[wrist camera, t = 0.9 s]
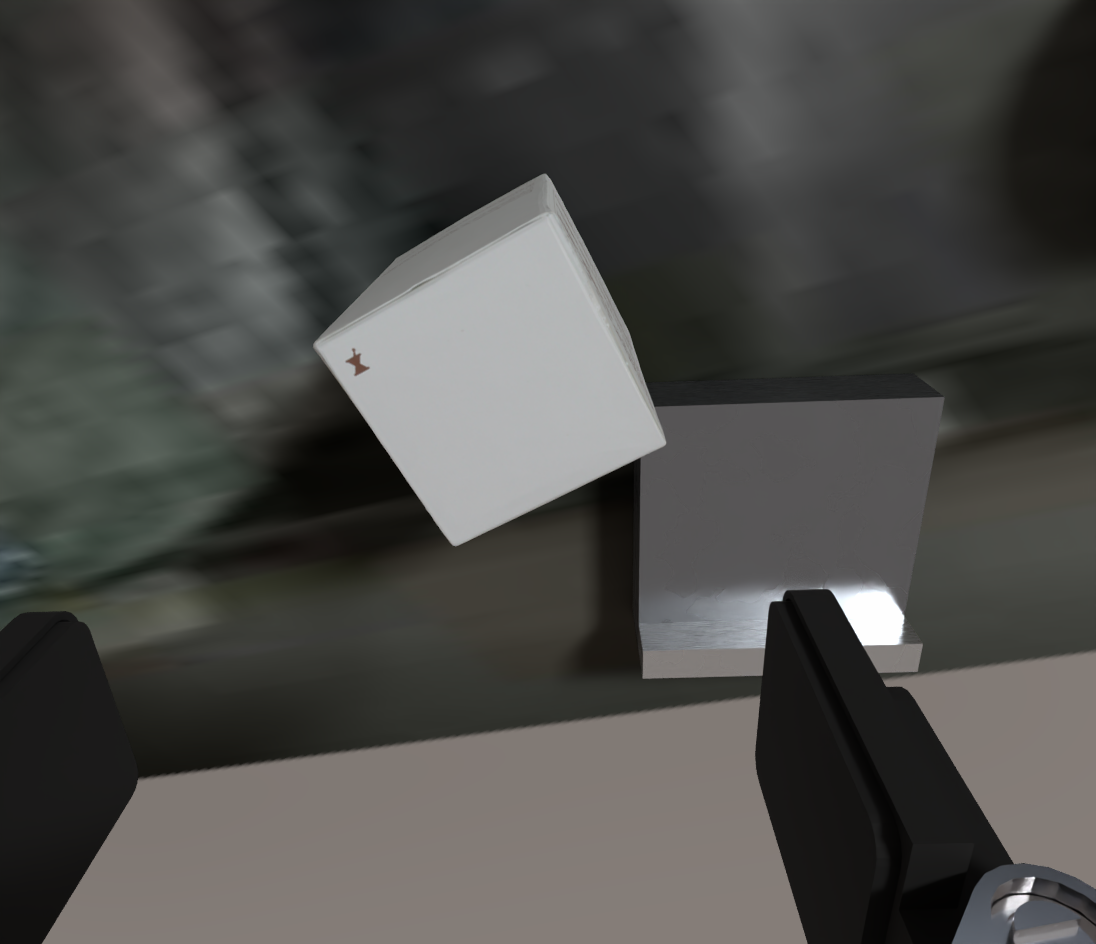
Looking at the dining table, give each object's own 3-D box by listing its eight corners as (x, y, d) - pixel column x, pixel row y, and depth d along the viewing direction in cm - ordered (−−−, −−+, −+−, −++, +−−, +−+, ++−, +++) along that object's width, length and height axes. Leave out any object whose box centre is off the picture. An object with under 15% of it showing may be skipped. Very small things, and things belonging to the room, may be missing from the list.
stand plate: (634, 383, 34) (646, 425, 30) (913, 373, 34) (968, 415, 29) (632, 612, 39) (642, 678, 35) (875, 605, 39) (917, 671, 34)
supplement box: (481, 408, 35) (445, 557, 23) (391, 256, 32) (299, 341, 21) (633, 332, 33) (674, 451, 22) (551, 166, 30) (550, 203, 19)
